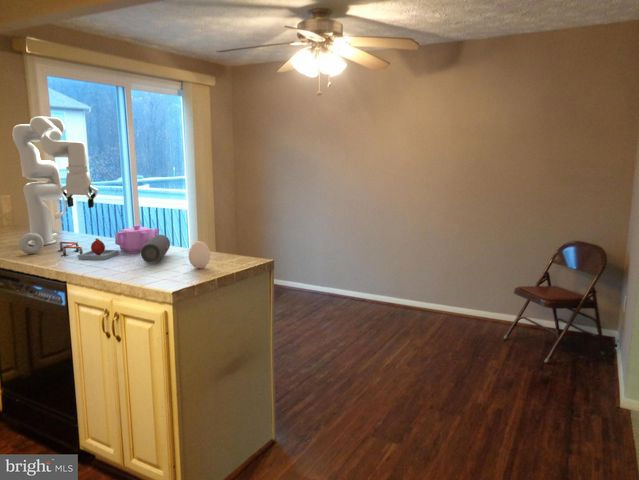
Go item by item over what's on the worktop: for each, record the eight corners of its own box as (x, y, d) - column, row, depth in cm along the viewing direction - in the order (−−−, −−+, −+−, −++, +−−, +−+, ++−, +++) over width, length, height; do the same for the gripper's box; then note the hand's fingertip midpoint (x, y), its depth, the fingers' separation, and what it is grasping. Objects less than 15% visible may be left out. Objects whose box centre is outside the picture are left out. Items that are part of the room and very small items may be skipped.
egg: (186, 270, 187) (184, 243, 185) (192, 265, 196) (191, 239, 193) (207, 271, 187) (206, 243, 185) (213, 265, 195) (212, 239, 193)
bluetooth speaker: (163, 265, 195) (161, 242, 193) (140, 266, 194) (138, 242, 192) (172, 254, 217) (171, 233, 216) (151, 254, 216) (150, 233, 214)
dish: (93, 253, 217) (93, 249, 217) (118, 254, 216) (118, 250, 216) (78, 259, 205) (78, 255, 205) (105, 259, 204) (104, 255, 204)
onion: (94, 254, 213) (93, 237, 212) (107, 254, 214) (106, 237, 212) (89, 256, 208) (88, 239, 206) (102, 256, 208) (101, 239, 207)
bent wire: (60, 250, 224) (59, 241, 223) (98, 250, 223) (97, 241, 222) (42, 256, 211) (41, 246, 210) (82, 257, 210) (81, 247, 209)
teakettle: (114, 253, 217) (112, 227, 215) (126, 246, 234) (125, 222, 232) (151, 253, 218) (149, 227, 216) (161, 246, 235) (159, 222, 233)
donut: (21, 256, 210) (19, 234, 209) (19, 255, 213) (16, 233, 211) (45, 252, 218) (43, 231, 216) (43, 251, 220) (40, 231, 218)
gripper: (54, 169, 206) (57, 207, 210) (91, 170, 205) (94, 209, 208) (65, 168, 213) (67, 205, 217) (101, 169, 212) (103, 206, 216)
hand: (80, 206), depth 213 cm, fingers open, 9 cm apart
